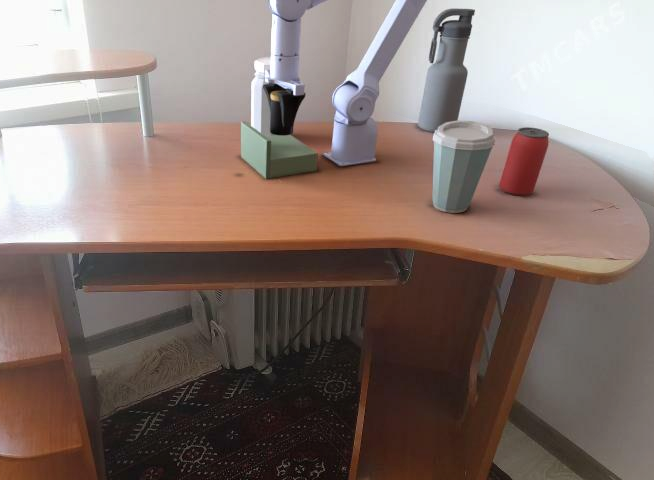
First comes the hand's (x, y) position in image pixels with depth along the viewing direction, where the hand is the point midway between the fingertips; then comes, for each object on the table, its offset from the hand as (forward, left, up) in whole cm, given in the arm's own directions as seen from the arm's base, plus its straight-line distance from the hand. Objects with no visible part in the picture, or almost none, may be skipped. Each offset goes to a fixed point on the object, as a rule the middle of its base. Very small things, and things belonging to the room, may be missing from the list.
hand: (282, 122), depth 116 cm
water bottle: (-50, -9, -9) cm, 52 cm away
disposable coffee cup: (-20, +32, -9) cm, 39 cm away
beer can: (-38, +31, -9) cm, 50 cm away
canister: (0, 0, -2) cm, 2 cm away
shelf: (+1, 0, -9) cm, 9 cm away
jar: (-5, -17, -9) cm, 20 cm away
